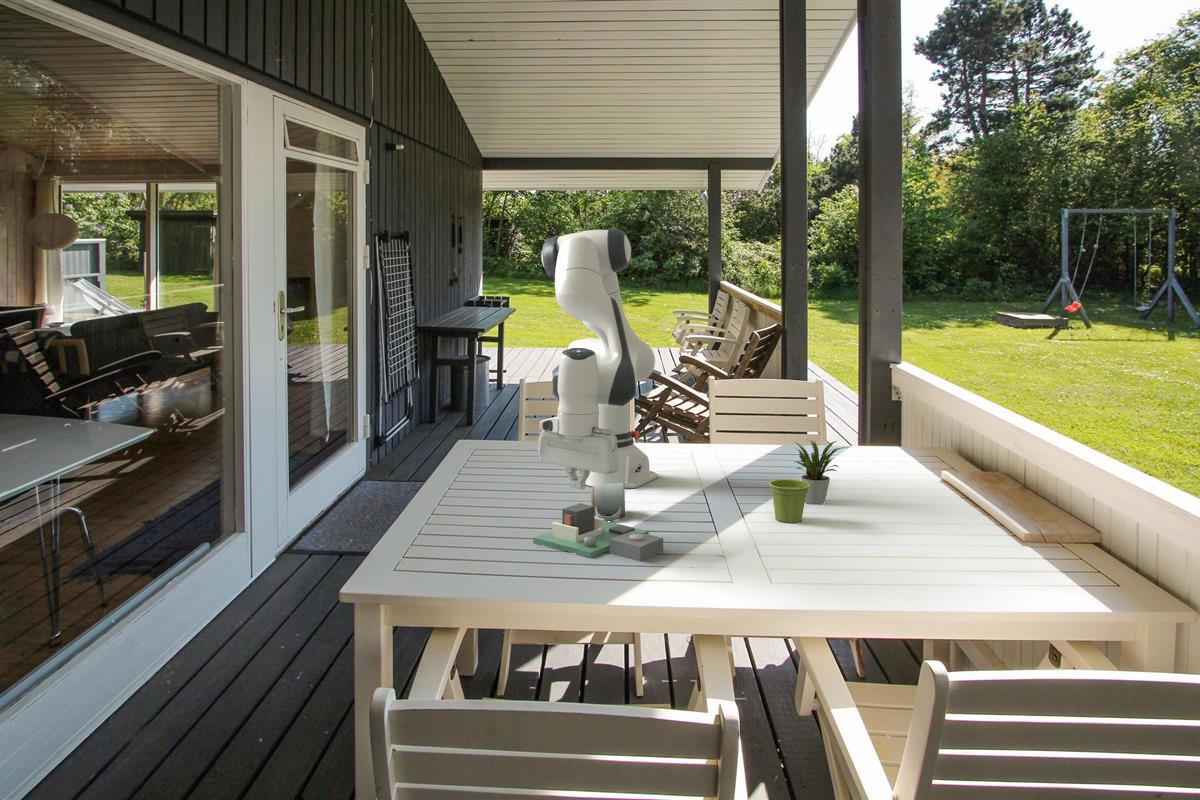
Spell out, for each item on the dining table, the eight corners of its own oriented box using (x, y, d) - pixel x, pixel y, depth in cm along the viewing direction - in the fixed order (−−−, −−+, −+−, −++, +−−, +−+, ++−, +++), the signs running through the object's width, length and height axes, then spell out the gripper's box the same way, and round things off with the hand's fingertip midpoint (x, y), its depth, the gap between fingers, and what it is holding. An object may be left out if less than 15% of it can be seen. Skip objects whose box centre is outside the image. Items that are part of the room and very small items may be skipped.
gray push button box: (632, 544, 205) (632, 528, 205) (663, 551, 200) (663, 535, 200) (609, 553, 199) (609, 536, 199) (640, 561, 194) (640, 543, 194)
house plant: (851, 497, 246) (854, 434, 243) (846, 510, 233) (849, 444, 230) (794, 492, 250) (797, 431, 248) (787, 505, 237) (789, 440, 235)
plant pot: (763, 514, 229) (764, 479, 228) (802, 513, 230) (803, 478, 229) (773, 525, 220) (775, 488, 219) (814, 524, 221) (815, 488, 219)
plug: (580, 529, 212) (580, 503, 211) (594, 533, 209) (594, 506, 208) (560, 536, 207) (560, 509, 206) (574, 540, 204) (574, 512, 203)
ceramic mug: (591, 510, 233) (591, 479, 231) (624, 510, 233) (625, 479, 231) (590, 522, 222) (590, 490, 221) (626, 523, 222) (626, 491, 221)
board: (592, 523, 221) (592, 505, 221) (648, 536, 211) (648, 517, 211) (533, 542, 206) (533, 523, 205) (590, 557, 196) (590, 538, 195)
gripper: (625, 428, 200) (625, 493, 202) (553, 417, 213) (553, 478, 215) (606, 432, 196) (606, 498, 198) (533, 421, 208) (533, 483, 210)
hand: (577, 488), depth 207 cm, fingers closed
